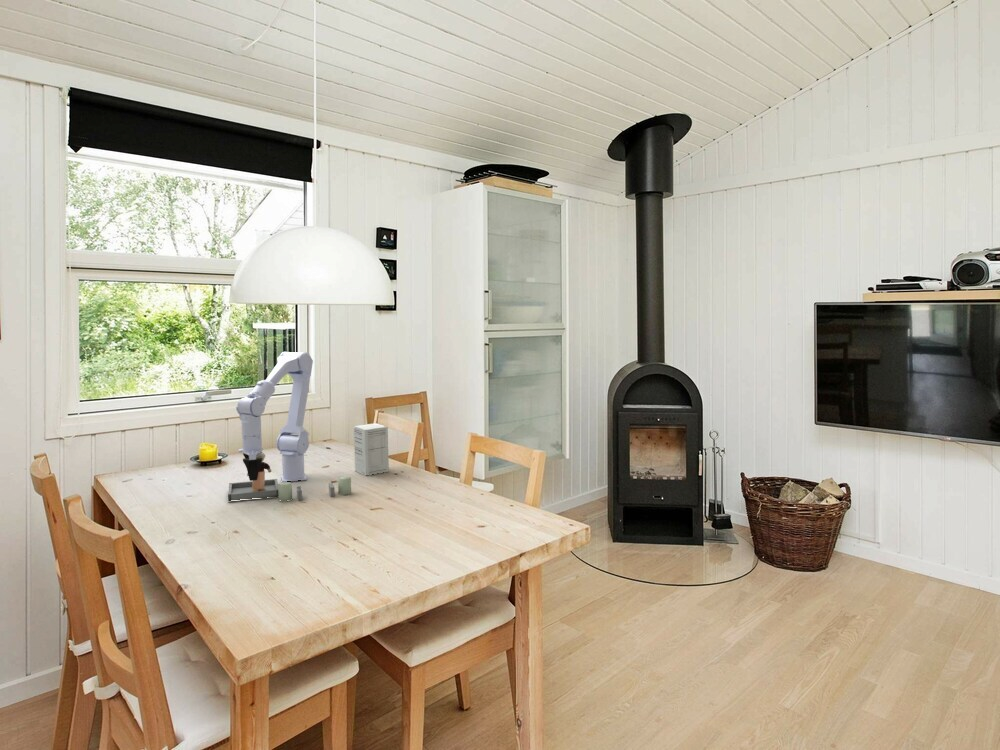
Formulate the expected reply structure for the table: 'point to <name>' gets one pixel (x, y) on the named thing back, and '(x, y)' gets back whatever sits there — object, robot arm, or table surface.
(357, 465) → the supplement box
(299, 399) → the robot arm
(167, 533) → the table surface
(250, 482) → the tray
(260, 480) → the grandmother figurine
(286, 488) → the pale green rounded block
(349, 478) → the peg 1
